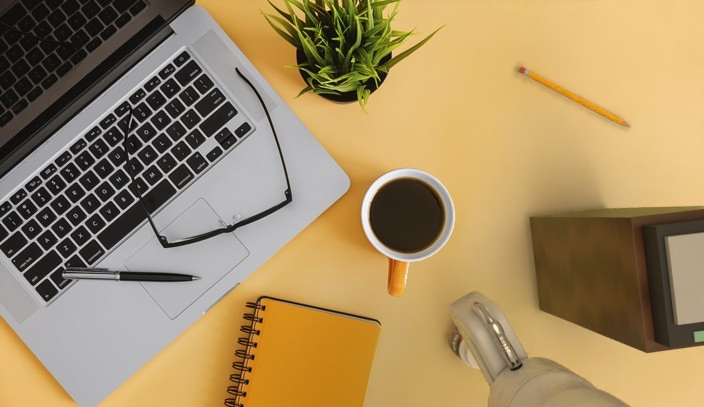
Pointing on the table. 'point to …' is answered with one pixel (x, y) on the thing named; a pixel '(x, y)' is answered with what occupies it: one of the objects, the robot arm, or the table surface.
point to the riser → (601, 269)
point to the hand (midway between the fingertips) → (490, 368)
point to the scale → (676, 281)
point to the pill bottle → (461, 349)
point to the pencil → (573, 96)
